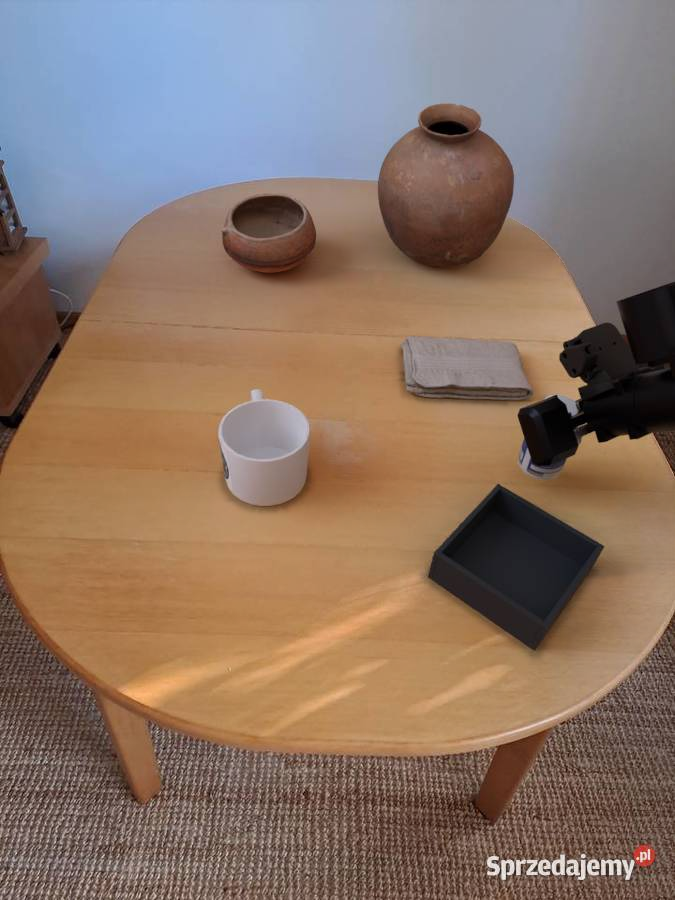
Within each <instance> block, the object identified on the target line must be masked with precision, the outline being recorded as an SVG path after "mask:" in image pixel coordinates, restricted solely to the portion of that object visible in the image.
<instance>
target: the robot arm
mask: <svg viewBox="0 0 675 900" xmlns="http://www.w3.org/2000/svg"><path fill="white" fill-rule="evenodd" d="M616 305H617V308H618V309H617V310H618V312H619V315H620V318H621V322H622V325H623V329H624V331H625V335H626V338H627V341H628V343H627V342H626V339H625V338H624V337H623V336H622V334H621V332H620V331H619V330H618V328H617V326H616V325H615V324H613V323H611V322H603V323H600V324H596V325H595V326H592V327H589V328H586V329H583V330H582V331H581V332H580V333H578V334H577V336H574V337H573V338H571V339H568V340H565V341H564V342H563V343H562V347H563V350H562V351H561V352H560V353H559V357H558V360H559V362H560V363H561V366H562V367H563V369H564V370H565V372H566V374H567V375H568V377H569V378H571V379H577V378H579V379H580V380H581V381H582V382H583V383H585V384H586V385H582V386H579V387H577V390H578V394H579V397H580V398H579V399H576V400H574V401H575V402H576V407H577V409H578V414H576V415H573V416H572V414H571V412H568V410H567V407H566V404H565V403H564V402H563V401H561V400H560V399H559V398H558V396H557V395H555V396H552V397H549V398H547V399H545V398H543V399H542V400H539V401H536V402H533V403H531V404H528V405H526V406H524V407H523V406H522V407H521V408H519V410H518V412H517V419H518V422H519V425H520V428H521V432H522V434H523V439H524V438H525V441H526V444H527V448H528V451H529V454H530V457H531V460H532V463H533V464H535V465H537V466H551V465H553V464H555V463H558V462H560V461H562V460H564V459H566V460H568V458H569V459H570V458H571V457H573V456H575V455H576V453H577V451H578V449H579V446H580V445H581V444H582V438H583V437H585V436H587V435H590V434H592V433H595V436H596V440H597V442H598V444H600V443H606V442H607V443H608V442H610V441H612V440H613V439H616V438H618V437H621V436H628V438H629V440H633V441H634V440H639V439H641V438H644V437H646V436H648V435H650V434H652V433H658V432H668V431H675V281H672V282H668V283H666V284H663V285H660V286H657V287H655V288H652V289H649V290H645V291H643V292H640V293H637V294H634V295H630V296H628V297H625V298H623V299H619V300H617V301H616ZM666 364H668V365H669V368H665V365H666ZM576 427H578V428H576ZM574 430H576V431H574Z"/></svg>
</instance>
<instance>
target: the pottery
mask: <svg viewBox="0 0 675 900" xmlns="http://www.w3.org/2000/svg"><path fill="white" fill-rule="evenodd" d="M417 122H418V125H419V126H416V127H414V128H413V129H410V130H409V131H408V132H407V133H405V134H404V135H403V136H401V138H399V139H398V140H396V142H395V143H394V144H393V145H392V147H391V148H390V149H389V150H388V152H387V153H386V156H385V157H384V159H383V161H382V164H381V167H380V170H379V173H378V179H377V198H378V206H379V209H380V210H379V211H380V214H381V217H382V220H383V221H382V222H383V224H384V227H385V229H386V231H387V234H388V236H389V238H390V240H391V241H392V243H393V244H394V245H395V246H396V247H397V248H398V250H400V252H402V253H403V254H404V255H406V256H408V257H409V258H410V259H412V260H413V261H416V262H419V263H421V264H424V265H427V266H434V267H457V266H462V265H466V264H469V263H471V262H474V261H476V260H478V259H479V258H480V257H481V256H482V255H483V254H484V253H485V252H486V251H487V250H489V248H491V246H492V245H493V244H494V242H495V241H496V240H497V237H498V236H499V234H500V233H501V230H502V228H503V226H504V225H505V224H504V223H505V221H506V218H507V217H508V213H509V210H510V208H511V204H512V200H513V196H514V187H515V174H514V173H515V172H514V167H513V165H512V162H511V159H510V158H509V157H508V154H507V153H506V152H505V151H504V149H503V148H502V147H501V146H500V145H499V143H498V142H497V141H496V140H495V139H494V138H493V137H491V136H490V135H489V134H488V133H486V132H484V130H483V131H482V130H481V129H480V128H481V126H482V117H481V115H480V113H478V112H477V110H475V109H474V108H471V107H469V106H467V105H463V104H456V103H437V104H432V105H429V106H427V107H425V108H424V109H422V110H421V111H420V112H419V114H418V118H417Z"/></svg>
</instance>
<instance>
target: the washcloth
mask: <svg viewBox="0 0 675 900" xmlns="http://www.w3.org/2000/svg"><path fill="white" fill-rule="evenodd" d="M400 346H401V348H402V351H403V354H402V360H403V361H402V362H403V363H402V364H403V369H404V382H405V388H406V392H409V393H412V394H414V395H416V396H420V397H422V398H440V399H441V398H453V399H454V398H455V399H462V400H463V399H464V400H465V399H466V400H495V401H497V400H499V401H500V400H501V401H523V400H527V399H529V398H531V397H532V396H533V395H534V392H533V387H532V385H531V383H530V381H529V378H528V376H527V374H526V373H525V372H524V369H523V366H524V365H523V360H522V358H521V354H520V352H519V347H518V346H517V345H516V343H513V342H511V341H503V340H502V341H501V340H486V339H485V340H483V339H471V338H457V337H456V338H455V337H454V338H452V337H430V336H428V337H427V336H420V335H419V336H415V335H411V336H407V337H406V338H405V340H403V341H402V342H401V344H400Z"/></svg>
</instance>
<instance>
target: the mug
mask: <svg viewBox="0 0 675 900" xmlns="http://www.w3.org/2000/svg"><path fill="white" fill-rule="evenodd" d="M217 437H218V442H219V443H218V444H219V448H220V454H221V460H222V466H223V472H224V478H225V483H226V486H227V489H228V490H229V491H230V492H231V494H232V495H233V496H235V497H236V498H237V499H238V500H240V501H241V502H244V503H246V504H249V505H252V506H258V507H272V506H277V505H282V504H284V503H286V502H288V501H291V500H292V499H294V498H295V497H296V496H298V495H299V494H300V493H301V491H302V490H303V488H304V487H305V484H306V481H307V475H308V465H309V464H308V463H309V453H310V443H311V425H310V423H309V419H307V417H306V415H305V414H304V413H303V412H302V411H301V410H300V409H299V408H297V407H296V406H294V405H292V404H290V403H287V402H284V401H282V400H277V399H271V398H264V392H263V390H262V389H260V388H256V389H252V390H251V391H250V400H249V401H248V400H247V401H245V402H243V403H240V404H237V405H236V406H234V407H233V408H232V409H230V410H228V411H227V412H226V414H225V415H224V416H223V417H222V419H221V420H220V423H219V424H218V432H217Z"/></svg>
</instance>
